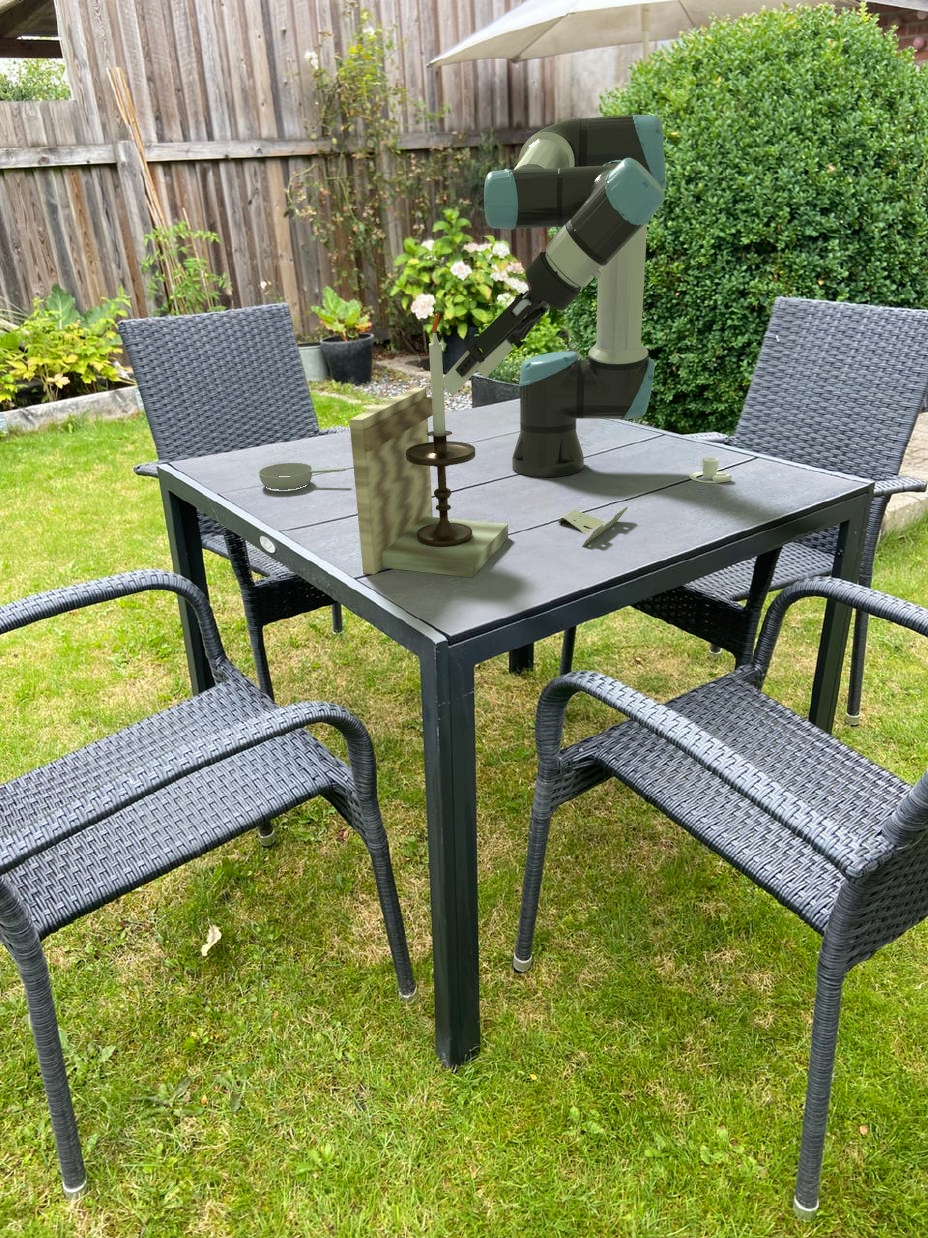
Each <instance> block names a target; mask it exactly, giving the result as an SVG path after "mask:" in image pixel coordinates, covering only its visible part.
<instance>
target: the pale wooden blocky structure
mask: <svg viewBox="0 0 928 1238" xmlns="http://www.w3.org/2000/svg"><path fill="white" fill-rule="evenodd" d="M431 417H433V411H432V396H427V387H418V386H417V387H412V388H410V389H409V390H406V391H405V392H402V393H400V394H399V395H397V396H394V397H392V398H391V399H388V400H387V401H384V402H382V403H380V404H378V405H376V406H374V407H372V408H370V409H368V410H366V411H364V412H361V413H360V414H358V415H355V416H354V417H351V418H350V419H349V428H350V429H349V432H350V442H351V443H350V444H351V454H352V464H353V475H354V484H355V485H354V486H355V487H354V488H355V498H356V508H357V518H358V520H357V521H358V530H359V531H358V532H359V541H360V542H359V543H360V552H361V553H360V555H361V566H362V572H363V574H367V575H376V574H377V573H378V572H379V571H381V570H382V569H383V568H385V569H391V570H393V569H394V570H402V571H403V570H404V571H410V572H419V573H430V574H437V575H438V574H439V575H447V576H454V577H455V576H457V577H465V578H473V577H474V576H475V575H476V574H477V573H478V572H479V571H480V569H482V567H483V566H484V565H485V564H486V563H487V561H489V560H490V558H491V557H492V556H494V554H495V553H496V552H497V551H498V550H499V549H500V548H501V547H502V545H504V543H505V542H506V541H507V540H508V539H509V524H508V523H501V522H489V521H481V520H470V519H469V520H467V519H461V518H460V519H459V518H449V517H448V520H449V522H450V523H459V524H464V525H467V526H469V527H470V528H471V529H472V539H471V540H470V541H468V542H466V543H464V544H461V545H457V546H450V547H433V546H427V545H424V544H422V543H420V542H419V541H418V540H417V531H418V530H419V529H420V528H422V527H424V526H427V525H430V524H435V523H438V522H439V520H440V517H438V516H437V517H436V516H433V515H434V512H433V496H432V475H431V466H423V465H417V464H413V463H410V462H409V461H407V459H406V450H407V449H408V448H410V447H412V446H414V445H418V444H422V443H428V442H430V436H428V435H427V433H428V432H429V418H431Z"/></svg>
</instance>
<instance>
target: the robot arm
mask: <svg viewBox="0 0 928 1238" xmlns="http://www.w3.org/2000/svg"><path fill="white" fill-rule="evenodd" d="M663 130H664V129H663V122H662V121H661V119H660V118H659V117H657V116H656V115H651V114H650V115H649V114H643V115H642V114H625V115H622V114H621V115H611V116H597V117H585V118H584V117H582V118H581V117H575V118H570V119H566V120H562V121H558V122H556V123H554V124H552V125H549V126H546V127H545V128H543V129H541V130H539V131H537V132H536V133H534V134H533V135H532V136H530V137H529V138H528V139H527V141H525V143H524V144H523V146H522V147H521V150H520V152H519V155H518V160H517V165H516V166H515V168H514V169H508V168H504V169H502V170H493V171H492V170H491V171H489V172H488V174H487V175H486V177H485V179H484V188H483V189H484V190H483V204H484V205H483V206H484V214H485V220H486V223H487V224H488V226H489V228H490V229H491V228H492V229H497V230H498V229H502V230H504V229H505V230H506V229H507V230H509V231H511V230H512V231H513V230H515V229H534V228H535V229H536V228H537V229H538V228H541V229H542V228H561V229H560V230H559V231H558V232H557V233H556V234H555V235H554V236H553V237H552V239H550V241H549V242H548V243H547V245H546V246H545V251H542V252H540V253H539V254H538V255H537V257H535V259H534V260H533V261H532V262H531V263H530V264H529V266H528V267H527V268H525V273H524V274H525V279H526V281H527V282H528V284H529V285H530V290H528V289H527V290H526V291H525V292H524V293H523V292H520V293H519V294H518V295H516V296H515V297H514V300H513V301H512V302H511V303H510V304H508V306H507V307H506V308H505V309H504V310H503V311H502V312H501V313H500V314H499V315H498V316H497V317H496V318H495V319H494V320H493V321H492V322H491V323H490V324H489V325H488V326H486V328H485V329H484V330H483V331H482V332H481V333H480V334H479V335H478V336H476V338H475V339H474V340H472V341H471V342H469V341H466V343H465V344H464V345H463V346H464V348H465V349H466V351H465V352H464V354H463V355H462V356H461V357H459V359H458V360H457V361H456V363H455V364H454V365H453V366H452V367H451V368H450V369H449V371H448V372H447V373H446V374H445V375H443V378H442V380H441V381H440V383H441V384H442V385H443V386H444V389H445V390H446V391H447V392H448V393H449V394H450V395H451V396H452V397H453V396H455V395H456V394H457V393H458V392H459V390H460V389H462V387H464V385H466V383H467V382H468V381H469V379H470V378H471V377H472V376H474V374H475V373H477V371H478V372H479V373H480V375H482V377H483V378H485V379H486V378H487V377H489V375H490V374H491V373H492V372H493V371H494V370H495V369H496V368H497V366H498V365H500V363H501V362H502V361H503V360H504V359H505V358H506V357H507V356H508V355H509V354H510V352H511V351H512V350H513V349H514V348H515V347H516V348H517V349H518V350H519V349H521V348H522V346H523V345H524V343H523V340H526V338H527V336H528V334H529V333H530V332H531V331H532V329H533V328H534V327H535V326H536V325H537V323H538V322H539V321H540V320H541V318H542V317H544V316H545V315H546V313H547V311H548V309H549V308H553V309H555V310H558V311H563V310H566V309H567V308H568V307H569V305H571V303H572V302H574V300H575V299H576V298H577V297H578V296H579V295H580V294H581V290H582V289H581V288H586V287H587V286H588V285H589V283H591V281H593V279H596V280H597V302H596V303H597V304H596V307H597V309H596V338H595V339H596V342H595V344H594V345H593V346H592V347H591V348H590V349H589V350H588V353H587V354H588V355H587V356H588V357H587V359H579V354H578V353H577V352H576V351H573V350H572V351H567V350H566V351H555V352H548V353H542V354H538V355H535V356H532V357H529V358H527V359H526V360H524V361H523V362H522V364H521V365H520V370H519V371H520V375H519V383H518V386H519V393H520V394H519V397H520V398H519V405H520V406H519V407H520V408H519V412H520V415H519V416H520V417H519V419H520V421H519V424H520V425H519V427H520V428H519V429H520V431H519V434H518V438H517V442H516V444H515V448H514V451H513V453H512V458H511V462H512V463H511V468H512V470H513V471H514V472H516V473H519V474H521V475H525V476H529V477H541V478H542V477H543V478H550V477H551V478H552V477H553V478H554V477H555V478H556V477H563V476H568V475H569V476H570V475H575V474H577V473H579V472H581V471H582V470H583V469H584V463H585V457H584V453H583V450H582V447H581V444H580V439H579V435H578V433H577V419H582V420H583V419H587V420H589V419H592V420H593V419H594V420H595V419H598V420H599V419H601V420H604V419H605V420H621V421H623V420H627V419H628V420H629V419H630V420H631V419H632V420H633V419H640V418H642V417H643V416H644V415H645V414H646V412H647V410H648V407H649V403H650V399H651V393H652V388H653V382H654V374H655V368H656V367H655V365H656V364H655V363H656V362H655V360H654V359H652V358H650V357H649V350H648V349H647V347H645V346H644V344H642V328H643V326H642V325H643V323H642V322H643V306H644V305H643V303H644V289H645V288H644V286H645V270H646V269H645V268H646V267H645V266H646V253H647V250H646V249H647V234H648V233H647V230H648V229H647V228H648V223H649V222H650V221H651V220H652V218H653V215H655V214H656V212H657V211H658V210H659V209H660V207H662V205H663V203H664V201H665V198H666V197H665V192H664V190H665V189H666V188H667V180H666V179H667V178H666V161H665V147H664V146H665V145H664V144H665V143H664V131H663Z"/></svg>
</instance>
